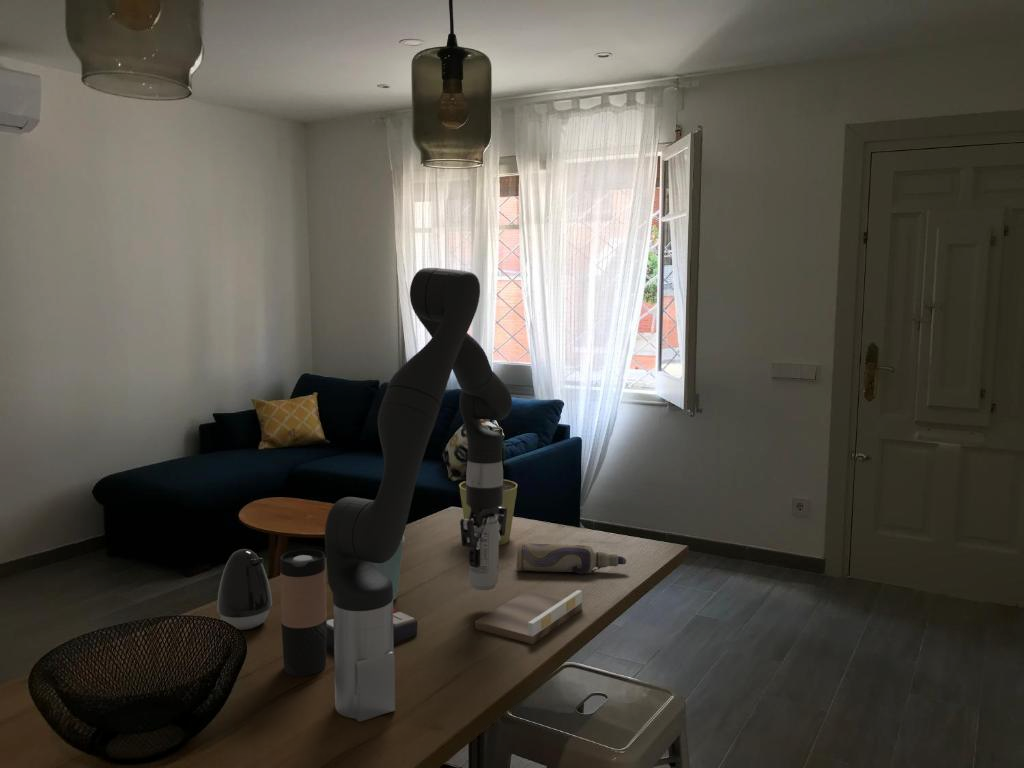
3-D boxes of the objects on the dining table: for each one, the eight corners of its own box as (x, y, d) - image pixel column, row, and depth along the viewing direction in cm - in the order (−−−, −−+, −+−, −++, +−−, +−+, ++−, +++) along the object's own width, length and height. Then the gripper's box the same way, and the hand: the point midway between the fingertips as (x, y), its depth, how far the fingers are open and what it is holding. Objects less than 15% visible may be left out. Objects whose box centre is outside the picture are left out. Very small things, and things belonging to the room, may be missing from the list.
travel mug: (309, 653, 148) (307, 546, 146) (336, 665, 143) (334, 555, 141) (273, 668, 142) (270, 556, 140) (300, 681, 137) (297, 566, 135)
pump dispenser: (243, 640, 153) (240, 561, 152) (206, 628, 159) (203, 552, 157) (284, 621, 162) (282, 547, 160) (248, 610, 167) (246, 538, 166)
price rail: (533, 636, 152) (533, 623, 152) (528, 635, 152) (528, 622, 152) (582, 602, 169) (583, 591, 168) (577, 601, 169) (577, 589, 169)
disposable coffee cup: (395, 609, 168) (395, 539, 167) (346, 605, 170) (345, 535, 169) (412, 591, 179) (411, 524, 177) (365, 587, 181) (364, 521, 179)
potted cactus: (493, 527, 227) (493, 421, 224) (529, 540, 215) (530, 428, 212) (447, 538, 217) (447, 426, 214) (482, 552, 206) (483, 435, 202)
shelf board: (532, 644, 152) (532, 636, 152) (475, 628, 159) (475, 621, 159) (581, 609, 169) (582, 602, 169) (528, 596, 176) (528, 590, 176)
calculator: (418, 617, 156) (353, 636, 145) (418, 639, 156) (352, 660, 146) (383, 601, 164) (319, 619, 153) (383, 622, 164) (318, 641, 153)
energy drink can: (504, 586, 169) (504, 515, 167) (482, 593, 165) (482, 520, 163) (484, 579, 173) (485, 510, 172) (463, 585, 169) (463, 514, 168)
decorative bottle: (515, 576, 189) (515, 548, 189) (517, 565, 197) (517, 538, 196) (627, 579, 187) (627, 551, 187) (625, 568, 195) (625, 541, 194)
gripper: (480, 491, 159) (479, 575, 160) (518, 478, 171) (517, 556, 173) (448, 486, 163) (448, 568, 164) (488, 474, 175) (488, 550, 176)
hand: (483, 561), depth 168 cm, fingers closed on energy drink can, 6 cm apart
